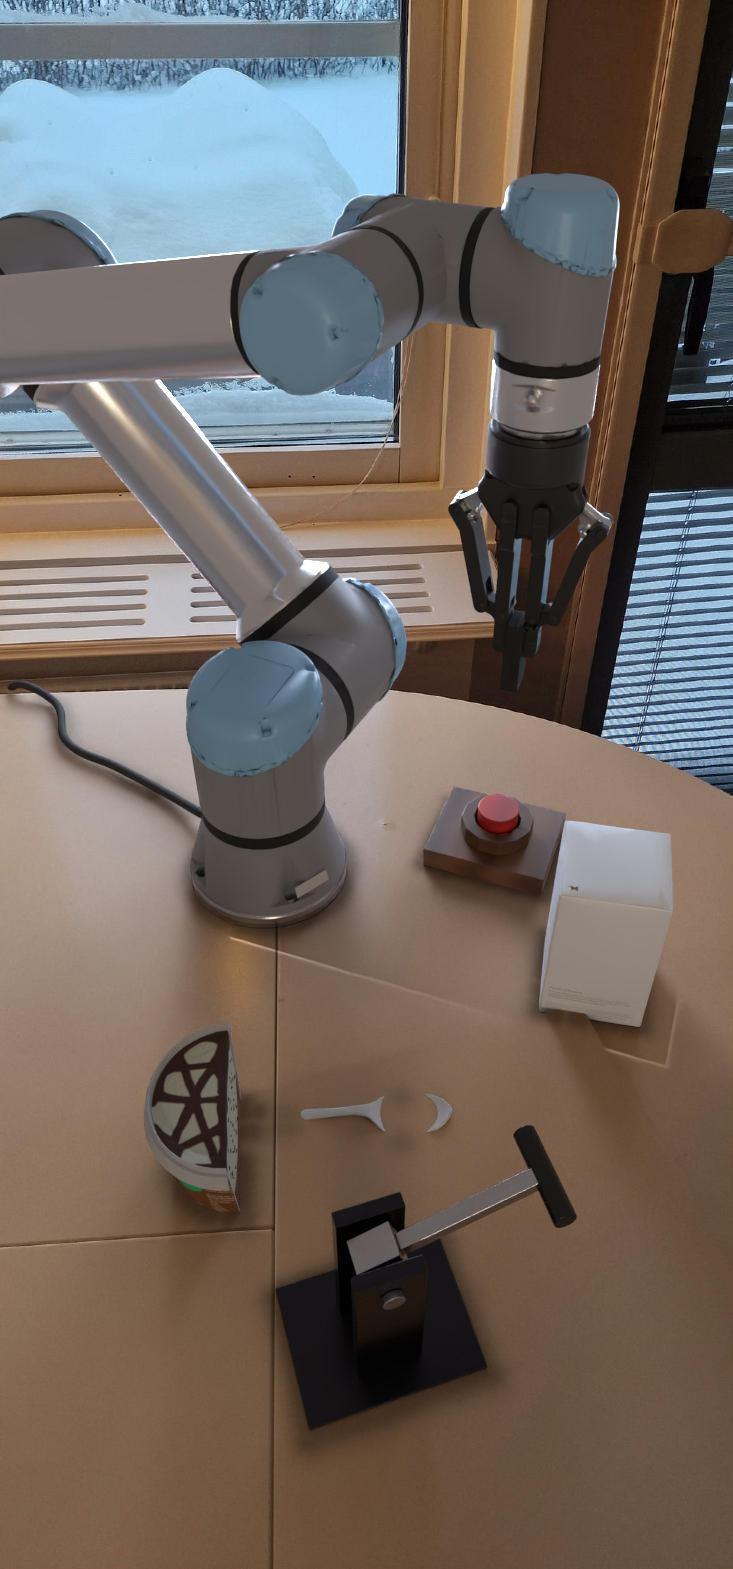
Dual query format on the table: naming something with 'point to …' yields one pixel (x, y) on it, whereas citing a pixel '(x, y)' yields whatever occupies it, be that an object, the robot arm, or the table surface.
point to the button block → (495, 843)
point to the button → (498, 814)
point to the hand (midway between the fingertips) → (512, 682)
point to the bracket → (376, 1324)
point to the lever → (469, 1209)
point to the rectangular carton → (607, 921)
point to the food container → (198, 1116)
